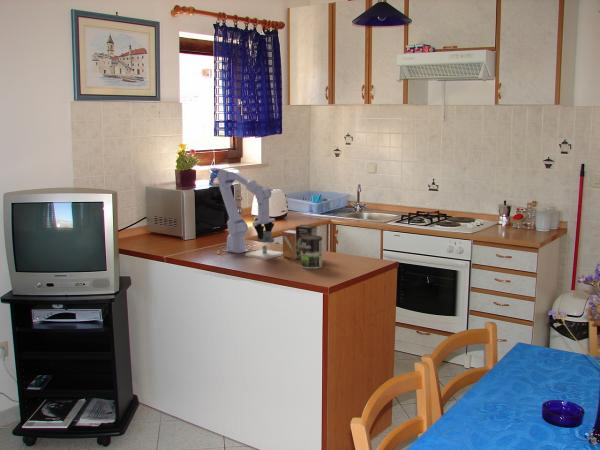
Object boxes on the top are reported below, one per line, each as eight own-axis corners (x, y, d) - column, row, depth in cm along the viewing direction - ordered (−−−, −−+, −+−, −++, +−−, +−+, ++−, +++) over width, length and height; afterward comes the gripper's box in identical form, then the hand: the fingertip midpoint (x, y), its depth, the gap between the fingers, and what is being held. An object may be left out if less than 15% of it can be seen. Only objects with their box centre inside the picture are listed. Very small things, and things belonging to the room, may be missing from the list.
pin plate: (245, 256, 352) (245, 246, 351) (264, 251, 362) (263, 241, 362) (265, 259, 343) (265, 249, 342) (284, 254, 354) (283, 244, 353)
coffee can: (311, 270, 320) (311, 240, 317) (296, 266, 327) (295, 237, 324) (327, 266, 327) (326, 236, 324) (311, 263, 334) (311, 234, 332)
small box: (282, 257, 348) (282, 231, 346) (290, 254, 353) (290, 229, 351) (295, 259, 343) (294, 233, 341) (303, 256, 348) (302, 231, 346)
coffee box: (295, 258, 344) (294, 226, 341) (301, 255, 350) (301, 224, 347) (311, 259, 340) (311, 227, 337) (317, 257, 345) (317, 225, 342)
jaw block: (257, 241, 351) (257, 231, 350) (264, 239, 355) (264, 230, 354) (269, 243, 346) (268, 233, 345) (275, 241, 350) (275, 232, 349)
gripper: (259, 214, 341) (260, 241, 343) (279, 210, 352) (279, 236, 354) (249, 212, 345) (250, 239, 348) (268, 209, 356) (269, 235, 359)
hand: (264, 238), depth 351 cm, fingers closed on jaw block, 5 cm apart
